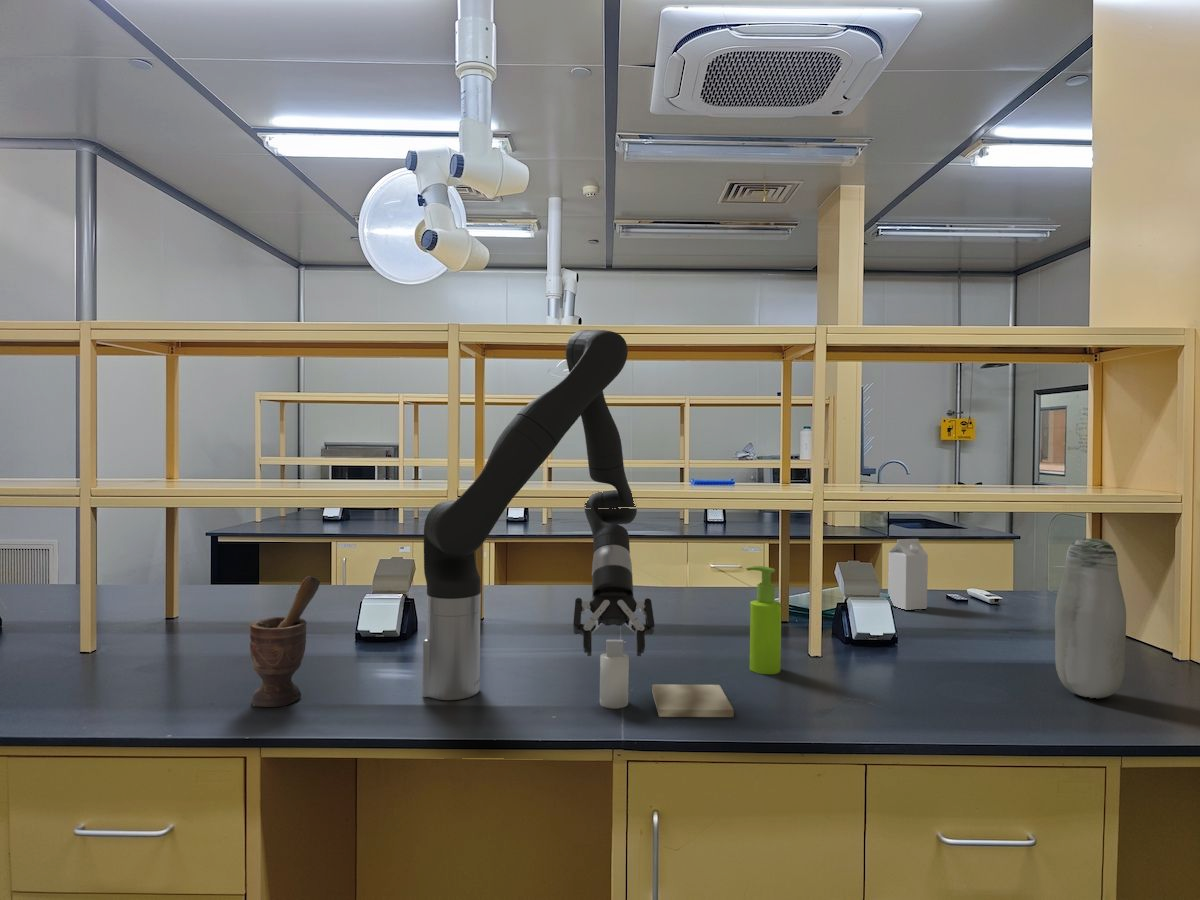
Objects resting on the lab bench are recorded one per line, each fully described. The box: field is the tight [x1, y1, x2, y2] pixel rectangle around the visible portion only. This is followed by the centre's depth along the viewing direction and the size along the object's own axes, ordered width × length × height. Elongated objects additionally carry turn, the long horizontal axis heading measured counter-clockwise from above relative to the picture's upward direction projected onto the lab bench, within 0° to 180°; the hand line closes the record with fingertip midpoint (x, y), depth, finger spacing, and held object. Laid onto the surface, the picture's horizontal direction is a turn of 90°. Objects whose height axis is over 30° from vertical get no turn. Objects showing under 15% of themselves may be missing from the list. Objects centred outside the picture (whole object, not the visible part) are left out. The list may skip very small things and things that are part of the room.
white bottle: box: [599, 639, 630, 710], centre depth 120 cm, size 5×5×11 cm
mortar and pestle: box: [249, 575, 321, 708], centre depth 120 cm, size 12×9×20 cm
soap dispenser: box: [745, 565, 782, 675], centre depth 139 cm, size 6×7×20 cm
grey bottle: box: [1054, 538, 1127, 699], centre depth 127 cm, size 10×10×28 cm
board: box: [651, 683, 735, 718], centre depth 120 cm, size 12×12×1 cm
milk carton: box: [887, 538, 929, 610], centre depth 196 cm, size 7×7×19 cm
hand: (614, 654), depth 122 cm, fingers open, 8 cm apart
